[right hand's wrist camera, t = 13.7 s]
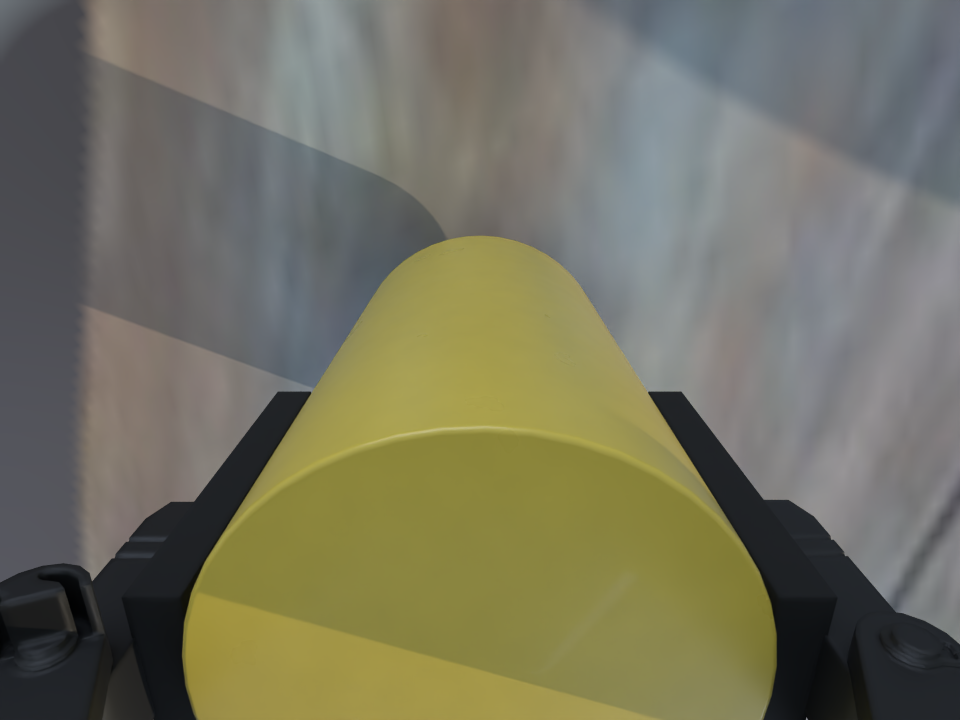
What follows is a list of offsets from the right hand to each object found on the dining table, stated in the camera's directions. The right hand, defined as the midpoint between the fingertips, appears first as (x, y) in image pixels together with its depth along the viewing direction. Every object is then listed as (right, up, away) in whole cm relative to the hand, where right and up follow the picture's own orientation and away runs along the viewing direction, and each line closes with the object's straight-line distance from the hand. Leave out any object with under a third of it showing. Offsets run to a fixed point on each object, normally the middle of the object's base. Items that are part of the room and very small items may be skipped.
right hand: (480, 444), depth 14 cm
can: (0, +2, +5) cm, 6 cm away
